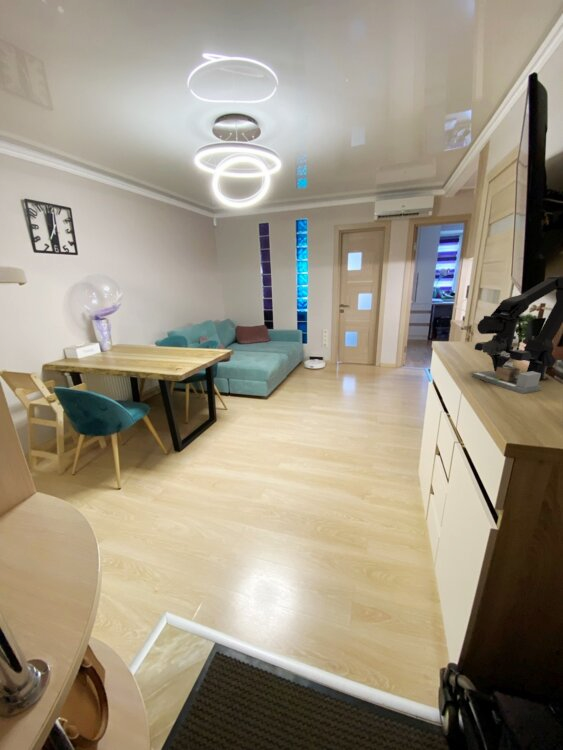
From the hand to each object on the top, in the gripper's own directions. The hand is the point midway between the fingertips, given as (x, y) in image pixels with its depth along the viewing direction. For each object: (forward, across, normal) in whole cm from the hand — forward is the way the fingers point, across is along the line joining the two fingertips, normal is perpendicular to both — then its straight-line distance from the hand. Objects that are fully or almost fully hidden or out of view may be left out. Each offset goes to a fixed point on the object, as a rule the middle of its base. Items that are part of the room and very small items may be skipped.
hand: (496, 371), depth 124 cm
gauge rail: (+4, +4, 0) cm, 5 cm away
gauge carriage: (+2, +6, -1) cm, 6 cm away
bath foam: (+4, -12, +22) cm, 25 cm away
